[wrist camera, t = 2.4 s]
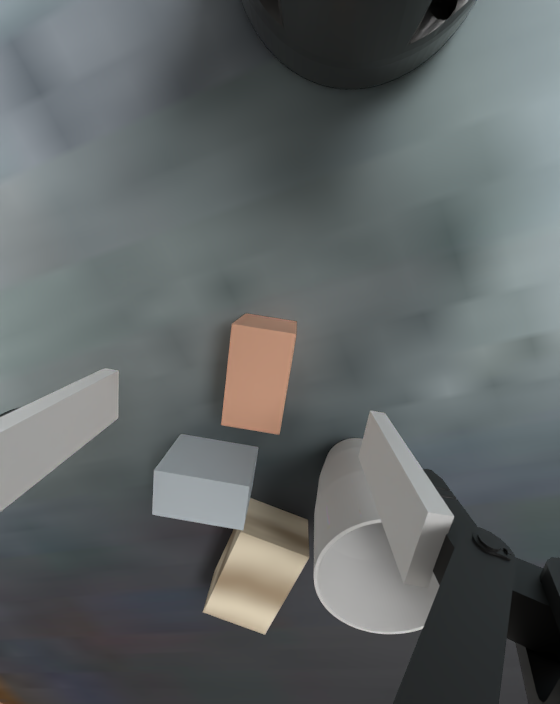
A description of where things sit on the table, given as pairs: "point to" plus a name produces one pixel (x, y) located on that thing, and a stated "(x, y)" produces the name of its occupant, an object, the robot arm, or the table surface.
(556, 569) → the robot arm
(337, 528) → the cup
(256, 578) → the maple block
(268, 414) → the terracotta block
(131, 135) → the table surface
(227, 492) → the slate block
